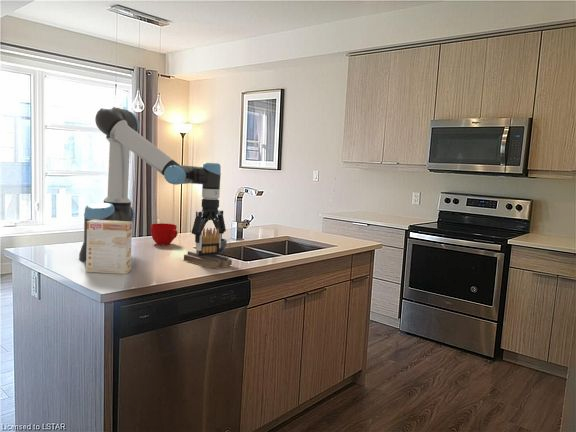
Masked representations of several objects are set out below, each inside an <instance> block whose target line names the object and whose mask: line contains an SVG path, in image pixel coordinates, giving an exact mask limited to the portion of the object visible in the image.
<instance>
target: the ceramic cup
mask: <svg viewBox="0 0 576 432" xmlns="http://www.w3.org/2000/svg"><path fill="white" fill-rule="evenodd" d="M177 227H178V226H177V224H174V223H163V222H162V223H159V222H158V223H151V224H150V235H151V238H152V239H153V242H154V243H156V245H158V246H169V245H170V244H171V243H172V242H173V241H174V239H176V238H177V236H178V230H177Z"/></svg>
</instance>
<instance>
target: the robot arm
mask: <svg viewBox="0 0 576 432" xmlns="http://www.w3.org/2000/svg"><path fill="white" fill-rule="evenodd" d="M94 121H95V125H96V128H98V130H99V131H100V132H101V133H103V134H104V135H105V139H106V140H107V141H108V143H109V149H108V150H109V152H108V175H107V177H108V178H107V196H106V197H105V198H104V199H103V202H97V203H96V202H93V203H90V204H87V205H86V206H85V207H84V213H83V217H84V218H83V219H84V224H83V226H84V227H83V229H84V230H83V242H82V245H81V247H80V248H81V249H80V251H79V253H78V254H79V255H78V259H79V260H80V261H82V262H86V247H87V221H90V220H93V219H96V220H113V221H132V224H133V223H134V221H135V218H136V217H135V216H136V215H135V210H134V209H133V207H132V201H131V199H130V198H128V197H129V179H130V178H129V176H130V171H129V170H130V155H131V152H132V153H133V154H135V155H136V156H137V157H139V158H140V159H141V160H142V161H143V162H145V163H146V164H147V165H149V166H151V167H152V168H153V169H155V170H156V171H157V172H158V173H160V174H161V175H162V176H163V178H164V179H165V181H166V182H168V184H169V185H170V184H171V185H175V186H176V185H185V184H186V185H187V184H192V185H194V184H195V185H202V187H201V188H202V189H201V209H202V210H201V211H199V210H198V211H197V210H196V212H195V217H194V218H195V219H194V221H193V225H192V229H191V233H190V234H192V235H195V236H194V237H195V238H194V239H195V241H194V242H195V250H196V251H197V250H199V251H201V247H202V236H201V233H202V234H203V229H204V228H205V226H206V224H207V223H208V222H209V221H212V224H213V225H214V228H215V231H217V228H218V229H219V248H220V246H221V240H222V239H223V235H224V234H225V233H226V231H227V229H226V224H225V220H224V210H220V209H219V208H220V200H219V198H220V194H221V192H220V191H221V190H220V189H221V175H222V173H221V165H220V163H217V162H216V163H215V162H203V165H202V166H195V165H185V164H183V165H181V164H180V163H178V162H177V161H175V160H174V159H173V158H172V157H170V156H169V155H167V154H166V152H164V151H163V150H161V149H160V148H158V147H157V146H156V145H154V144H153V143H152V142H151V141H149V140H148V139H147V138H145V137H144V136H142V135H141V134H140V133H138V131H139V130H140V129H139V128H140V122H139V118H138V117H137V116H136V115H135V114H134V113H133V112H131V111H130V110H128V109H124V108H120V107H115V106H108V105H107V106H104V107H102V108H100V109H99V110H98V111H97V112H96V115H95V119H94Z"/></svg>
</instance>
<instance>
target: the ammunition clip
mask: <svg viewBox="0 0 576 432" xmlns="http://www.w3.org/2000/svg"><path fill="white" fill-rule="evenodd" d="M209 228H210V229H209ZM209 228H208V227H207V228H206V229H205V227H204V229H203V231H202V233H201V236H202V247H201V251H199V250H196V251H197V254H196V255H197V256H206V255H216V254H219V229H218V228H217V230H216V228H215V227H213V228H212V227H209ZM209 230H210V232H209ZM212 234H213V236H212Z"/></svg>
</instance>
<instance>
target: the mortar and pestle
mask: <svg viewBox="0 0 576 432" xmlns="http://www.w3.org/2000/svg"><path fill="white" fill-rule="evenodd" d="M208 230H209V232H210V229H208ZM212 236H213V233H212ZM227 242H228V240H227V239H226V238H222V240H221V246H220V248H219V254H216V255H219V256H222V255H223V250H224V249H226V246H227Z"/></svg>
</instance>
